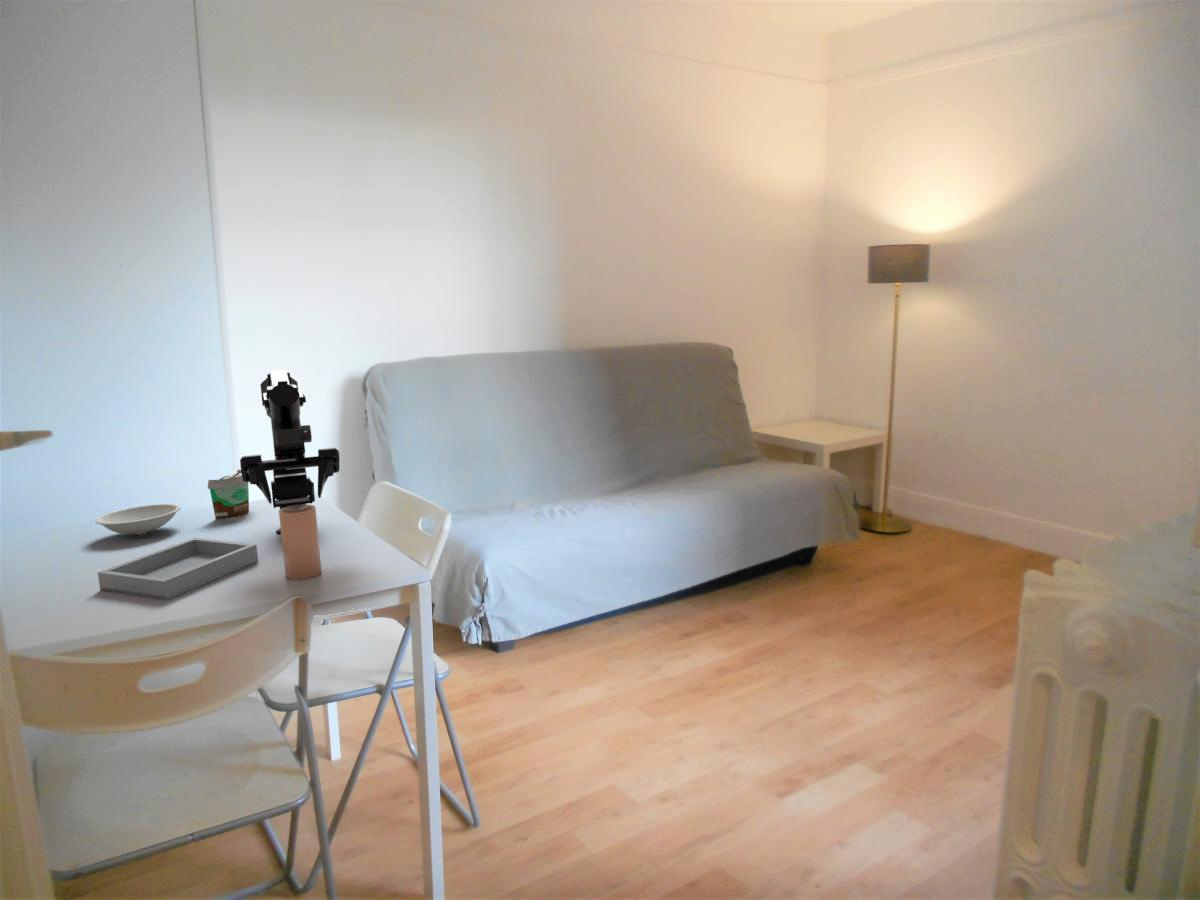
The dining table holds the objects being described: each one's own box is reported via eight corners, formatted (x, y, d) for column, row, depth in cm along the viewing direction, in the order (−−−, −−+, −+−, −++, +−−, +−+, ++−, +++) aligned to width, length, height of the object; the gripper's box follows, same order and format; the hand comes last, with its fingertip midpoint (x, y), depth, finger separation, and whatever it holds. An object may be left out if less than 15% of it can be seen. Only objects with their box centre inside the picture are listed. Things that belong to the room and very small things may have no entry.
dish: (166, 520, 202) (164, 500, 201) (195, 530, 194) (192, 509, 193) (87, 538, 189) (84, 517, 188) (114, 549, 180) (110, 527, 179)
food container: (234, 521, 200) (229, 481, 198) (211, 520, 201) (206, 480, 199) (264, 508, 211) (260, 469, 210) (242, 507, 213) (238, 469, 211)
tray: (196, 553, 176) (194, 537, 175) (258, 560, 170) (256, 544, 169) (100, 590, 155) (97, 572, 155) (166, 600, 149) (163, 581, 149)
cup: (293, 568, 165) (287, 504, 162) (326, 568, 164) (320, 503, 162) (279, 580, 158) (272, 513, 156) (313, 579, 158) (307, 513, 155)
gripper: (235, 416, 164) (240, 482, 156) (334, 408, 171) (344, 472, 163) (240, 449, 172) (245, 513, 164) (334, 440, 179) (344, 502, 171)
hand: (295, 499), depth 166 cm, fingers open, 9 cm apart
